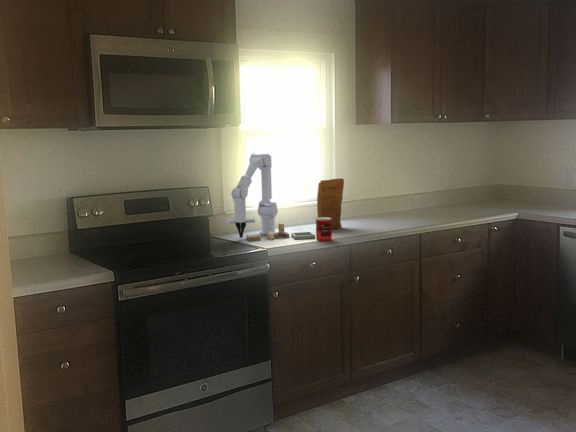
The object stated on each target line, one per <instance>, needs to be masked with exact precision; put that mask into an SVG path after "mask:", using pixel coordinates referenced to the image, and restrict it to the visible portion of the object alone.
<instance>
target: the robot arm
mask: <svg viewBox="0 0 576 432" xmlns="http://www.w3.org/2000/svg"><path fill="white" fill-rule="evenodd" d="M248 159H249V160H248V161H249V164H248V167H247V169H246V170H245V171H246V172H245V174H244V175H242V176H241V177H240V179H239V180H238V183H237V185H236V187H234V188H232V190H231V194H230V195H231V197H232V202H234V203H233V207H234V209H233V210H234V218H233V219H226V221H225V222H226V225H229V224H230V225H231V224H233V225H234V224H235V227H236V229H237V232H238V235H239V236H238V237H239V238H240V239H241V238H243V236H244V233H245V228H246V226H247V224H250V223H251V224H252V223H254V224H255V223H256V219H255V218H247V211H246V198H247V197H248V193H249V187H250V186H251V184H252V182H253V181H252V177H253V176H254V174H255V173H256V170H257V169H259V170H260V175H261V176H260V177H261V200H259V202H258V207H257V214H258V216H259V217H260V219H261V231H260V232H259V233H260V234H261V235H268V232H273V233H277V232H276V223H275V221H276V219H275V218H276V217H277V216H278V211H279V209H278V206H277V202H276V201H275V200H273V193H272V192H273V191H272V166H273V165H272V156H271V155H270V153H268V152H264V153H263V152H261V153H259V152H258V153H252V154H251V155H250V157H249V158H248Z"/></svg>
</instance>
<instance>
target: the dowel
mask: <svg viewBox="0 0 576 432" xmlns="http://www.w3.org/2000/svg"><path fill="white" fill-rule="evenodd" d="M277 225H278V228H277V229H278V232H279V234H284V232H285V223H282V222H281V223H278V224H277Z"/></svg>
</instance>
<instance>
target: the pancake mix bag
mask: <svg viewBox="0 0 576 432" xmlns="http://www.w3.org/2000/svg"><path fill="white" fill-rule="evenodd" d="M344 184H345V179H344V178H333V179H331V178H330V179H322V180H319V182H318V186H317V193H316V194H317V197H316V207H317V208H316V211H317V214H316V215H317V217H316V218H320V217H329V218H331V219H332V230H335V229H336V228H338V229H341V228H342V222H341V221H342V220H341V218H342V202H343V196H344V195H343V193H344V189H345V188H344V187H345V185H344Z"/></svg>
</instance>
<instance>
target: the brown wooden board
mask: <svg viewBox="0 0 576 432" xmlns="http://www.w3.org/2000/svg"><path fill="white" fill-rule="evenodd" d="M246 240H247V241H248V242H255V241H256V242H257V241H262V240H261V235H260V234H258V233H254V234H246Z"/></svg>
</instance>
